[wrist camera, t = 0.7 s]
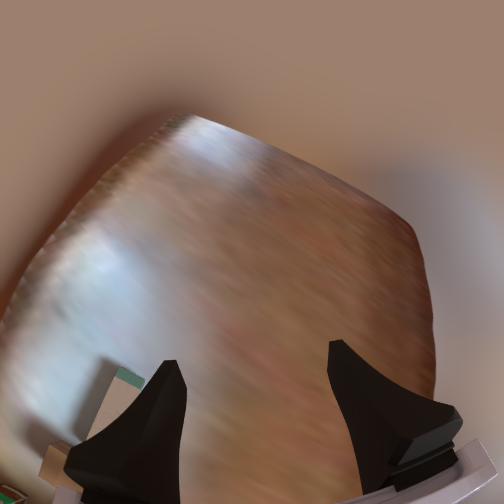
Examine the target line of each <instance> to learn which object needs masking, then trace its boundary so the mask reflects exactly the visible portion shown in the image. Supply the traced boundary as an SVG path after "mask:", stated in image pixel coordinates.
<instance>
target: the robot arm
mask: <svg viewBox="0 0 504 504" xmlns="http://www.w3.org/2000/svg"><path fill="white" fill-rule="evenodd" d="M327 373H328V377H329V380H330V384H331V387H332V390H333V393H334V395H335V398H336V400H337V402H338V405H339V407H340V410H341V412H342V414H343V417H344V419H345V421H346V424H347V427H348V429H349V433H350V436H351V440H352V444H353V447H354V452H355V456H356V460H357V464H358V469H359V474H360V479H361V485H362V491H363V496H360V497H357V498H353V499H350V500H346V501H342V502H338V503H334V504H459V503H460V502H462V501H464V500H465V499H467V498H468V497H470V496H471V495H473V494H474V493H475V492H477V491H478V490H479V489H481V488H482V487H483V486H485V485H486V484H487V483H488V482H489V481H491V480H492V479H493V478H494V477H495V476H497V475H498V471H497V469H496V467H495V465H494V464H493V462H492V460H491V458H490V457H489V455H488V453H487V452H486V450H485V448H484V446H483V445H482V443H481V442H480V440H479V438H476V439H475V440H473V441H471V442H470V443H468V444H467V445H465V446H464V447H462V448H460V449H459V450H457V451H456V452H454V450H453V447H454V443H453V441H452V439H453V438H454V436H455V435H456V434H457V432H458V431H459V430H460V428H461V426H462V424H463V420H462V418H461V416H460V415H459V413H458V412H457V410H456V409H455V408H454V406H451V405H448V404H444V403H440V402H436V401H433V400H430V399H427V398H425V397H422V396H420V395H417V394H415V393H413V392H411V391H409V390H407V389H405V388H403V387H401V386H399V385H398V384H396V383H394V382H393V381H391V380H389V379H388V378H386V377H385V376H384V375H382V374H381V373H380V372H378V371H377V370H376V369H374V368H373V367H372V366H371V365H369V364H368V363H367V362H366V361H365V360H363V359H362V358H361V357H360V356H359V355H358V354H357V353H356V352H355V351H354V350H353V349H351V348H350V347H349V346H348V345H347V344H346V343H345V342H344V341H343V340H342V339H341V340H336V341H330V342H329V353H328V367H327ZM186 402H187V387H186V384H185V382H184V379H183V377H182V374H181V372H180V369H179V366H178V364H177V361H176V360H164V361H163V363H162V364H161V365H160V367H159V368H158V370H157V371H156V372H155V374H154V375H153V377H152V378H151V379H150V381H149V382H148V384H147V385H146V386H145V387H144V389H143V390H142V391H141V393H140V394H139V395H138V396H137V398H136V399H135V400H134V401H133V402H132V403H131V405H130V406H129V407H128V408H127V409H126V410H125V411H124V412H123V413H122V414H121V415H120V416H119V417H118V418H117V419H115V420H114V421H113V422H112V423H110V424H109V425H108V426H107V427H106V428H104V429H103V430H102V431H100V432H99V433H97V434H96V435H94V436H93V437H91V438H89V439H88V440H86V441H84V442H82V443H80V444H78V445H76V446H74V447H72V448H71V449H70V451H69V453H68V456H67V459H66V462H65V465H64V467H63V471H64V472H65V474H66V475H67V476H68V477H69V478H70V479H72V480H73V481H74V482H76V483H77V484H78V485H79V486H81V487H82V488H83V492H82V493H81V492H79V491H77V490H74V489H71V488H68V487H65V486H62V485H60V484H59V485H58V486H57V489H56V492H55V495H54V499H53V502H52V504H180V491H179V449H180V441H181V435H182V429H183V423H184V417H185V411H186Z"/></svg>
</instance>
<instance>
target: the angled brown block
mask: <svg viewBox="0 0 504 504" xmlns="http://www.w3.org/2000/svg"><path fill="white" fill-rule="evenodd" d="M71 448H72V446H71V445H69V444H67V443H66V442H64V441H62V442H58V443H53V444H49V447H48V449H47V452H46V455H45V457H44V460H43V463H42V466H41V469H40V472H39V475H38V476H39V477H41V478H42V479H44V480H45V481H47V482H48V483H50V484H51V485H53V486H54V487H56V488H57V486H58V485H59V484H60V485H62V486H65V487H68V488H71V489H74V490H77V491H79V492H81V493H82V492H83V488H82V487H81V486H79V485H78V484H77V483H76V482H74V481H73V480H72V479H70V478H69V477H68V476H67V475H66V474H65V472H64V471H63V467H64V465H65V462H66V459H67V456H68V453H69V451H70V449H71Z"/></svg>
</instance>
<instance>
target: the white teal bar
mask: <svg viewBox="0 0 504 504" xmlns="http://www.w3.org/2000/svg"><path fill="white" fill-rule="evenodd" d="M144 383H145V379H144V378H142V377H140V376H138V375H136V374H134V373H132V372H130V371H128V370H126V369H124V368H123V367H121V366H119V368H118V370H117V372H116V374H115V376H114V378H113V381H112V383H111V385H110V387H109V389H108V391H107V393H106V395H105V398H104V400H103V402H102V404H101V406H100V409H99V411H98V413H97V415H96V418H95V420H94V422H93V425H92V427H91V429H90V432H89V434H88V436H87V439H86V440H88V439H89V438H91V437H93V436H94V435H96V434H97V433H99V432H100V431H102V430H103V429H104V428H106V427H107V426H108V425H109V424H110V423H112V422H113V421H114V420H115V419H117V418H118V417H119V416H120V415H121V414H122V413H123V412H124V411H125V410H126V409H127V408H128V407H129V406H130V405H131V403H132V402H133V401H134V400H135V399H136V398H137V396H138V395H139V394H140V392H141V390H142V388H143V385H144Z"/></svg>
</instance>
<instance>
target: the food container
mask: <svg viewBox="0 0 504 504" xmlns="http://www.w3.org/2000/svg"><path fill="white" fill-rule="evenodd" d="M28 497H29V496H27V495H26V494H24V493H23V492H21V491H20V490H18V489H16V488H14V487H11V486H9V485H5V484H0V504H26V502H27V499H28Z"/></svg>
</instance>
